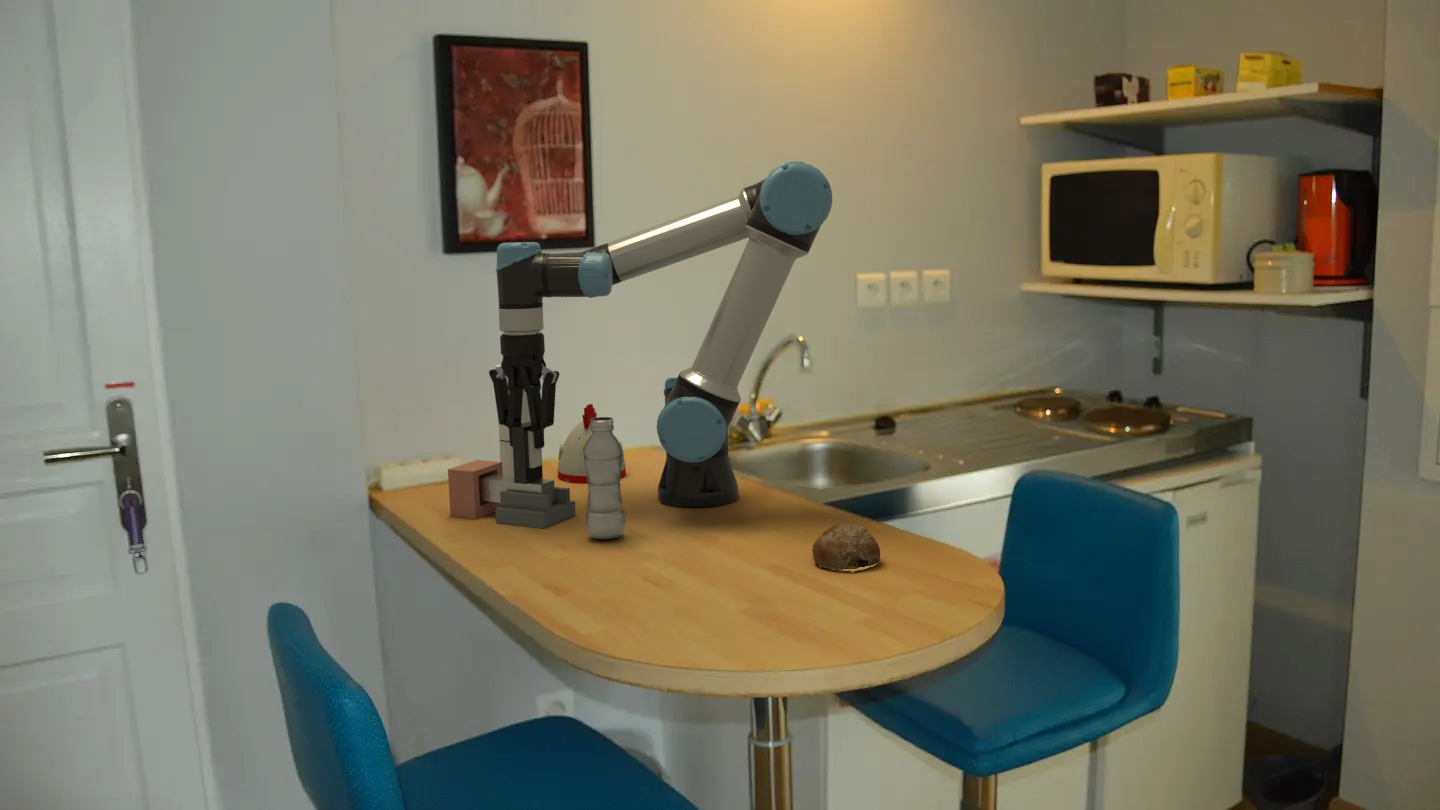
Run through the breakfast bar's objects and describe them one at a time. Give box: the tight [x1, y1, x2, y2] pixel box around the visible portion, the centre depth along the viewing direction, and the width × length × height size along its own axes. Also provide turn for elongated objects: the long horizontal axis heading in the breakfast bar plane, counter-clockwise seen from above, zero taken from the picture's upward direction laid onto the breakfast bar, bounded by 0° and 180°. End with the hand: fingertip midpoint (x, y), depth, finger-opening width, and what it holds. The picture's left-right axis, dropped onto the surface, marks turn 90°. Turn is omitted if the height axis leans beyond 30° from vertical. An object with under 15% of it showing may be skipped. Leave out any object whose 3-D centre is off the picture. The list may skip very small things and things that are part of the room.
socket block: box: [447, 459, 503, 520], centre depth 203 cm, size 6×9×9 cm, turn 154°
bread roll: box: [811, 522, 881, 570], centre depth 169 cm, size 10×10×8 cm
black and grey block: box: [480, 422, 556, 503], centre depth 199 cm, size 13×5×14 cm, turn 65°
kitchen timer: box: [557, 403, 627, 485], centre depth 230 cm, size 14×14×15 cm
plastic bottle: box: [583, 416, 627, 540], centre depth 184 cm, size 6×7×20 cm
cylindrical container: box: [495, 363, 532, 476], centre depth 216 cm, size 7×7×25 cm
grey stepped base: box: [494, 486, 576, 529], centre depth 198 cm, size 10×10×5 cm
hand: (528, 465), depth 197 cm, fingers closed on black and grey block, 3 cm apart
